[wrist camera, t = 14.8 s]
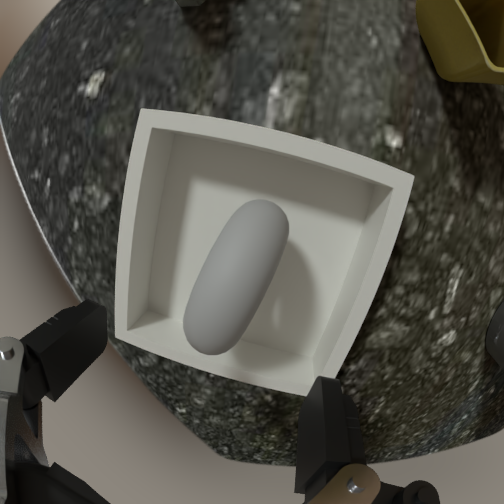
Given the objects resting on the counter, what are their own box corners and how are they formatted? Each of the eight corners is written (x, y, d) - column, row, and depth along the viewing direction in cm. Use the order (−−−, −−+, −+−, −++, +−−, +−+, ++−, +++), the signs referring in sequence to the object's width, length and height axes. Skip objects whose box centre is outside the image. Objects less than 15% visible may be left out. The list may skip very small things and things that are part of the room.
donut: (254, 185, 20) (224, 196, 11) (297, 205, 20) (306, 235, 11) (205, 296, 23) (156, 371, 14) (242, 314, 23) (214, 398, 14)
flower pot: (461, 20, 13) (505, -13, 5) (493, 97, 15) (552, 82, 7) (393, 14, 15) (428, -38, 6) (429, 97, 17) (490, 71, 8)
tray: (388, 174, 20) (414, 176, 15) (318, 363, 25) (322, 399, 20) (170, 119, 20) (141, 108, 16) (140, 311, 26) (115, 336, 21)
